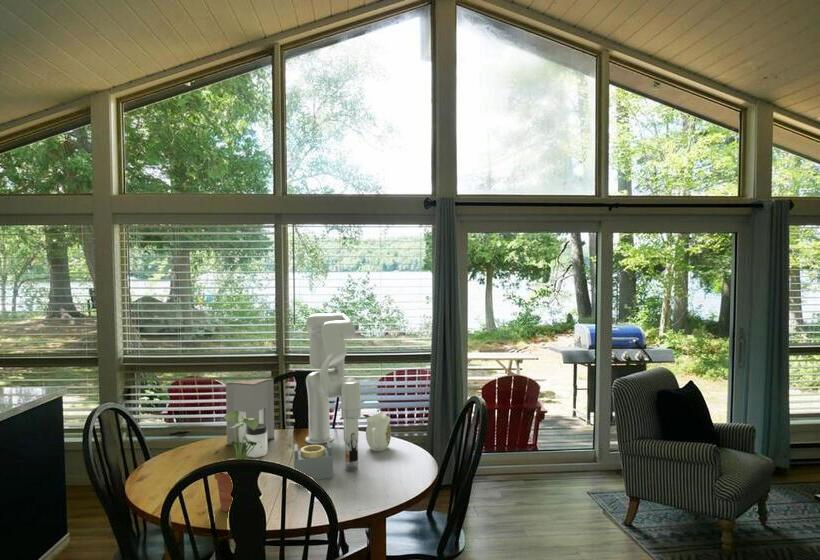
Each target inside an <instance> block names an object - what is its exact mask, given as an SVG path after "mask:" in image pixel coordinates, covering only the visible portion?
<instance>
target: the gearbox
mask: <svg viewBox="0 0 820 560" xmlns="http://www.w3.org/2000/svg"><path fill="white" fill-rule="evenodd" d="M293 446H294V447H293V469H294V468H295V469H297V470H299V471H301V472H303V473H305V474H306V475H308V476H310V477H312V478H313V479H314V480H313V481H315V480H316V481H317V480H324V479H333V478H334V474H333V473H334V471H333V470H334V469H333V465H334V463H333V453H332V452H333V451H332V450H333V449H332V444H331V441H327V443H326V448H325V446H324V445H322V444H309V445H305V446H303V447H301V448H300V450H298V449H299V448H298V447H299V446H298V443H295V444H293Z"/></svg>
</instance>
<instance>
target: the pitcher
mask: <svg viewBox="0 0 820 560" xmlns="http://www.w3.org/2000/svg"><path fill="white" fill-rule="evenodd" d="M366 422H367V423H366V424H367V426H366V429H365V438H366V441H367V445H368V447H369V448H370V450H371V451H374V452H383V451H386V450H387V448H388V447H389V446H390V442H391V439H392V427H391V425H390V422H391V417H390V416H389V415H387V414H386V413H385V412H378V413H376V414H373V415H370V416H368V417H366Z"/></svg>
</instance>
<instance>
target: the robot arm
mask: <svg viewBox="0 0 820 560" xmlns="http://www.w3.org/2000/svg"><path fill="white" fill-rule="evenodd" d="M305 321H306V322H305V326H306V330H307V334H308V336H309V365H310V368H312V369H313V370H320V371H313V372H311V373H309V374H307V376H306V378H305V385H306V386H305V387H306V390H307V391H306V392H307V400H308V401H307V402H308V403H307V405H308V436H305V442H306V443H307V444H309V445H322V444H327V441H330V442H332V441H333V440H334V436H333V435H332V434H330V433H331V429H330V428H331V427H330V424H331V423H330V401H329V399H334V398H340V399H341V400H340V404H341V406H340V407H341V409H340V410H341V419H342V418H343V436H342V437H343V442H344V445H345V444H346V445H348V444H349V446H350V450H349V461H357V460H358V461H359V449H358V450H357V443H358V444H359V418H360V417H361V416H362V412H361V411H362V410H361V409H362V408H361V404H362V403H361V402H362V401H361V384H360V381H358V380H356V378H355V377H352V376H346V377H345V357H346V356H347V353H348V351H347V346H346V344H345V340H352V339H354V337H355V335H356V328H355V324H354V323H353V320H351V319H350V317H348V316H347V315H346V314H345V313H343V312H330V313H329V312H327V313H326V312H325V313H322V312H321V313H313V314H310V315H309V316H307V318H306V320H305ZM329 369H330V370H329ZM351 437H352V438H351ZM351 445H352V446H351Z"/></svg>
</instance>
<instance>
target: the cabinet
mask: <svg viewBox="0 0 820 560" xmlns="http://www.w3.org/2000/svg"><path fill="white" fill-rule="evenodd" d="M274 383H275V381H274V378H264V379H253V380H251V379H250V380H240V381H230V382H228V381H227V382H225V394H226V395H225V405H226V407H225V409H226V414H228V413H230V412H239V415H238V422H240V421H243V420H244V419H242V418H241V415H242V416H243V417H245V418H259V419H258V420H259V422H258V424H265V425H266V426H267V441H269V440H274V439H275V400H274V399H275V396H274V395H275V394H274V393H275V389H274V388H275V387H274V386H275V385H274ZM226 414H225V415H226ZM230 423H231V424H230ZM227 424H228V425H227ZM236 424H237V423H236V422H231V421H226V445H227V446H231V445H232V446H233V444H232V443H231V442H234V438H233V434H234V437H235V441H236V443H237V446H239V444H238V436H239V441H240V446H241V443H242V440H243V437H245V436H246V434H247V429H246V427H247V425H246V423H244V425H243V426H241V425H240V428H239V427H234V428H232V429H231V427H233V426H235V425H236ZM228 426H229V427H230V428H229V427H228ZM232 430H233V433H232ZM237 430H238V435H237ZM245 430H246V432H245ZM244 434H245V436H244ZM245 442H246V440H243V445H242V447H243V446H244V447H246V443H245Z"/></svg>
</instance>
